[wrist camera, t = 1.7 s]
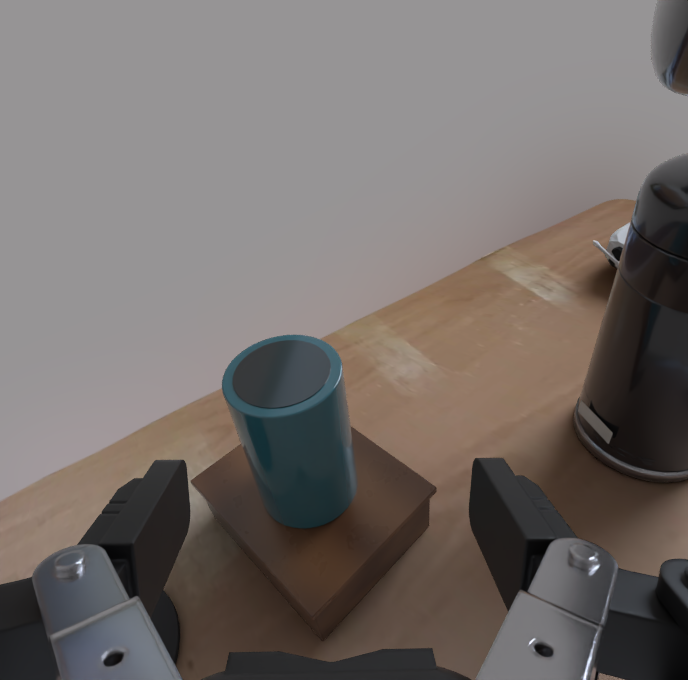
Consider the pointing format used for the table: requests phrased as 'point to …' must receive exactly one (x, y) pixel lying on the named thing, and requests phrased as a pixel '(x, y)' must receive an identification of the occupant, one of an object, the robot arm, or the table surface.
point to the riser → (324, 532)
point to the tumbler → (294, 427)
